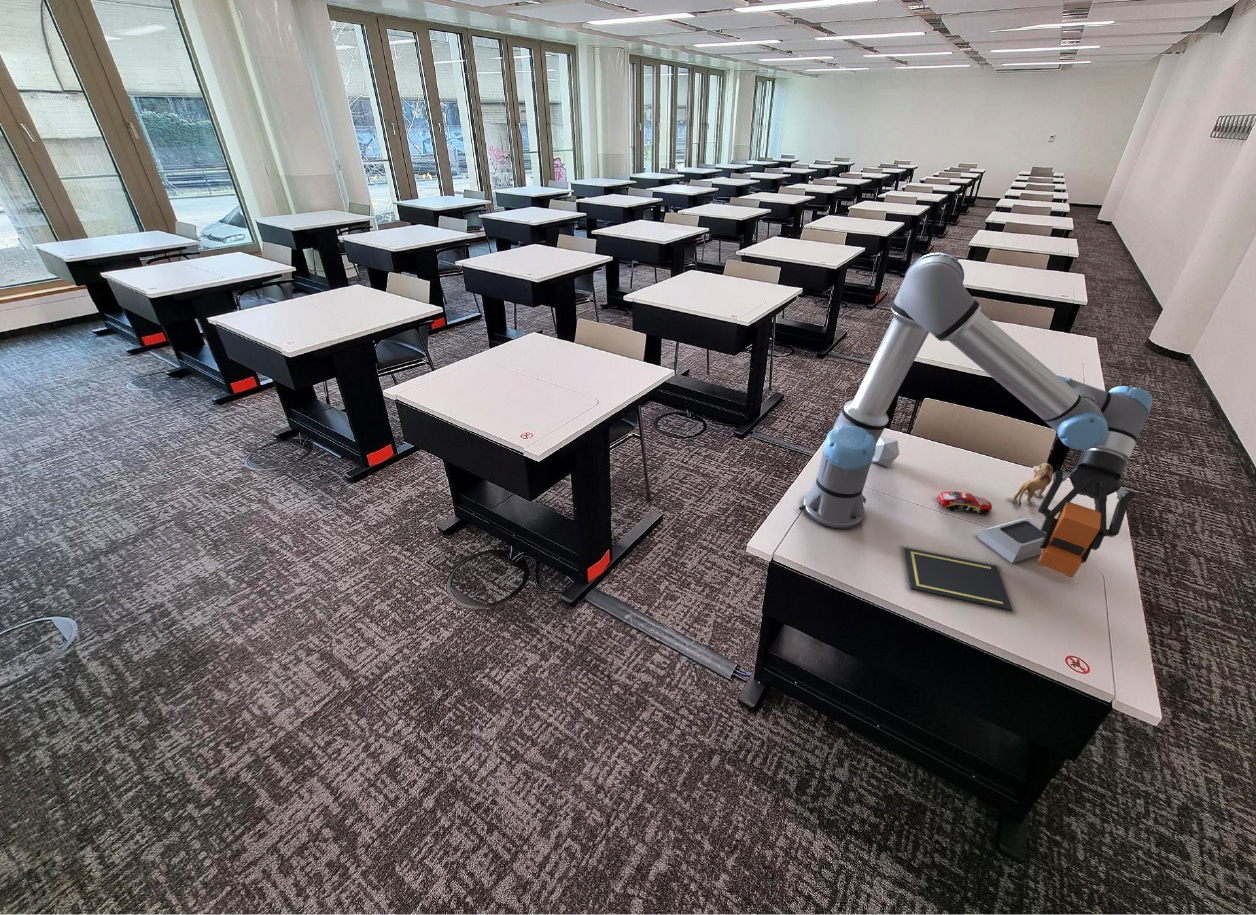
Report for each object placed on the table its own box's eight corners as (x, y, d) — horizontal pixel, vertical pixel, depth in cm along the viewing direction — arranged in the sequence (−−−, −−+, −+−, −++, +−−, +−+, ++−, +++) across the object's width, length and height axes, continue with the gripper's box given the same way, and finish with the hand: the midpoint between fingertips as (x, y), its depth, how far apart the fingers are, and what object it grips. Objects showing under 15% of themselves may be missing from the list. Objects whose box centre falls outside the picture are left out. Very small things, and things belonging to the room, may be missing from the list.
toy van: (1070, 581, 110) (1099, 537, 103) (1036, 567, 113) (1062, 524, 106) (1074, 555, 116) (1101, 512, 110) (1041, 543, 119) (1066, 500, 113)
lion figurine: (1025, 483, 154) (1038, 457, 149) (1046, 491, 151) (1060, 465, 146) (1007, 504, 146) (1021, 477, 141) (1029, 513, 143) (1044, 486, 138)
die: (899, 462, 164) (890, 431, 165) (906, 464, 156) (897, 431, 156) (870, 469, 167) (862, 438, 167) (875, 471, 158) (866, 438, 158)
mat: (910, 589, 120) (911, 587, 119) (904, 548, 131) (904, 547, 131) (1011, 611, 114) (1012, 609, 114) (995, 566, 126) (996, 565, 125)
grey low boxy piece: (983, 526, 132) (1027, 514, 136) (977, 537, 134) (1021, 525, 138) (1018, 551, 125) (1063, 537, 129) (1012, 563, 127) (1056, 548, 131)
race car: (986, 504, 146) (992, 493, 144) (993, 517, 141) (998, 505, 139) (934, 497, 148) (939, 486, 146) (939, 509, 144) (944, 497, 142)
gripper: (1155, 477, 111) (1113, 577, 109) (1047, 446, 121) (1007, 537, 119) (1170, 467, 105) (1126, 573, 103) (1055, 436, 115) (1012, 532, 113)
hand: (1062, 554), depth 111 cm, fingers closed on toy van, 6 cm apart
